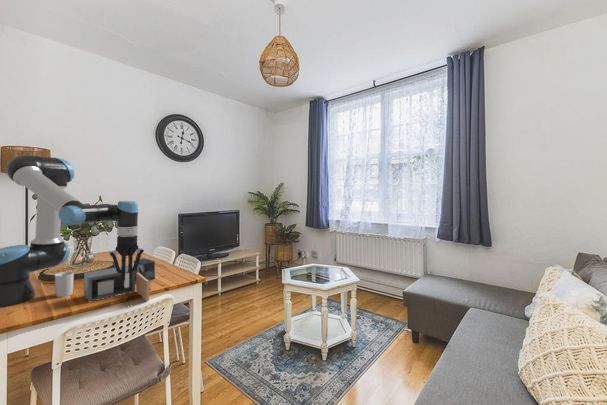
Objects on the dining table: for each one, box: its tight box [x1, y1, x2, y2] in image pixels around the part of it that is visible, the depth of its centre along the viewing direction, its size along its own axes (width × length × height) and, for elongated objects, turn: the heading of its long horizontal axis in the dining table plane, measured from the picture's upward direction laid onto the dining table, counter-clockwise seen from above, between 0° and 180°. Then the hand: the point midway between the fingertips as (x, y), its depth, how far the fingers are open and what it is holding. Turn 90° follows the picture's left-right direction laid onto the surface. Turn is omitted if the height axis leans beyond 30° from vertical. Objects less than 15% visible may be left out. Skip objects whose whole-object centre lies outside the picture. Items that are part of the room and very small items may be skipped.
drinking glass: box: [54, 270, 75, 298], centre depth 121 cm, size 7×7×10 cm
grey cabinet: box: [83, 265, 136, 303], centre depth 124 cm, size 18×10×11 cm, turn 138°
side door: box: [135, 273, 152, 302], centre depth 123 cm, size 16×2×9 cm, turn 47°
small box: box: [133, 257, 156, 282], centre depth 145 cm, size 11×6×10 cm, turn 62°
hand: (126, 286), depth 117 cm, fingers closed
